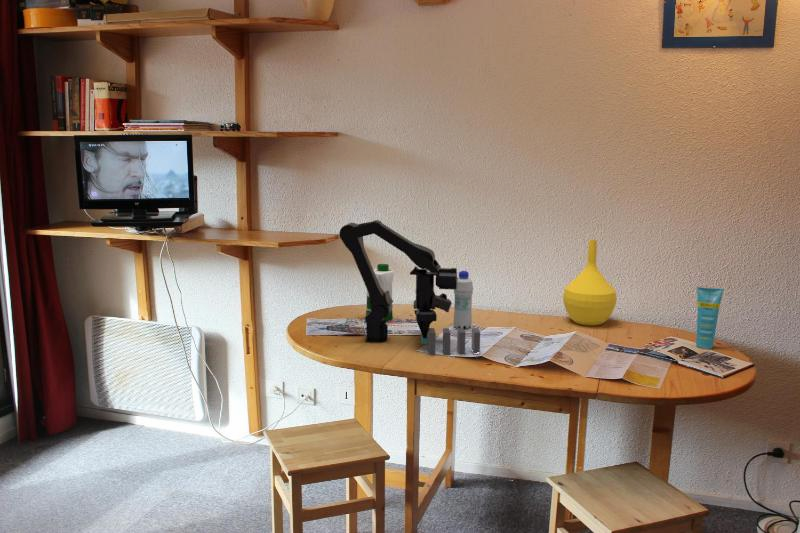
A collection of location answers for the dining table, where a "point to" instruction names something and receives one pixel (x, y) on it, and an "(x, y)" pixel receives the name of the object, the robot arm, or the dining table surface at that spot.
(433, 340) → the domino
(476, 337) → the domino
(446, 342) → the domino
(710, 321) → the tube
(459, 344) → the domino
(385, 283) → the milk carton
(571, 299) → the vase
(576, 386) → the dining table surface
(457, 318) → the bottle
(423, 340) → the domino
